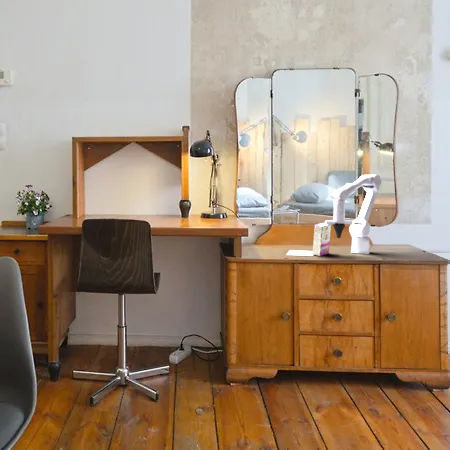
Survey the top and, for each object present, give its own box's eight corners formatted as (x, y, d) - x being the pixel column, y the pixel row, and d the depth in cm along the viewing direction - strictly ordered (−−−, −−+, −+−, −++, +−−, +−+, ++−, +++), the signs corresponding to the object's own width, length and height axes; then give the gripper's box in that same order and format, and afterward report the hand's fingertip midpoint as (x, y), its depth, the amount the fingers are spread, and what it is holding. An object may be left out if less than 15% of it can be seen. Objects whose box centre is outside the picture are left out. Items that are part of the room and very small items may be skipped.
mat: (314, 251, 250) (314, 251, 250) (312, 256, 235) (312, 256, 235) (290, 250, 254) (290, 250, 254) (286, 255, 239) (286, 254, 239)
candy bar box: (320, 251, 247) (323, 222, 245) (329, 253, 244) (331, 223, 242) (311, 254, 239) (314, 224, 236) (320, 256, 236) (323, 225, 233)
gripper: (350, 211, 241) (349, 236, 242) (323, 211, 240) (323, 236, 242) (354, 212, 234) (353, 238, 235) (327, 212, 233) (326, 238, 235)
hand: (338, 237), depth 238 cm, fingers closed
